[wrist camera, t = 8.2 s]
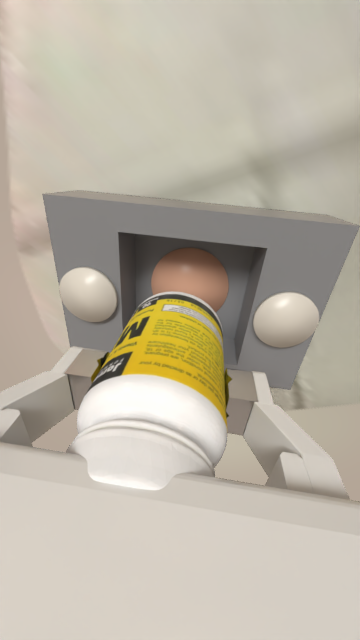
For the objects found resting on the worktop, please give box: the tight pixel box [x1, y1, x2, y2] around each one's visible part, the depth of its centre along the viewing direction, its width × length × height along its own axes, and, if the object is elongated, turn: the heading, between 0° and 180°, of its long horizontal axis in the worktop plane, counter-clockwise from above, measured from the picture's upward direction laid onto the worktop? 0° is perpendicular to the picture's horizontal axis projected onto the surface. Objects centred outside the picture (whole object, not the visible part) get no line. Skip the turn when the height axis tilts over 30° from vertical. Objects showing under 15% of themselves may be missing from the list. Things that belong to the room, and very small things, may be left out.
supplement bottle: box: [66, 291, 227, 490], centre depth 9 cm, size 5×5×8 cm
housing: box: [43, 190, 360, 390], centre depth 17 cm, size 16×11×4 cm
